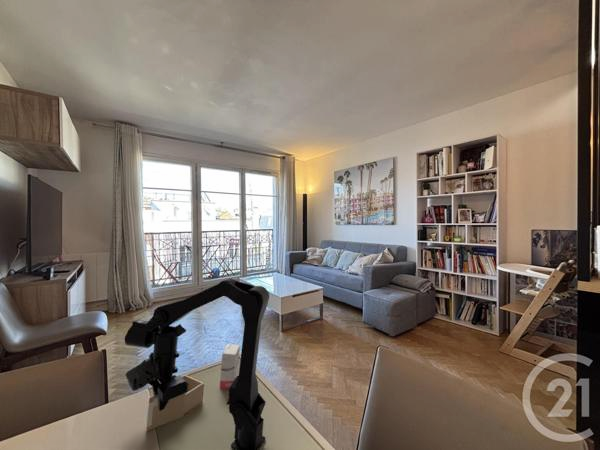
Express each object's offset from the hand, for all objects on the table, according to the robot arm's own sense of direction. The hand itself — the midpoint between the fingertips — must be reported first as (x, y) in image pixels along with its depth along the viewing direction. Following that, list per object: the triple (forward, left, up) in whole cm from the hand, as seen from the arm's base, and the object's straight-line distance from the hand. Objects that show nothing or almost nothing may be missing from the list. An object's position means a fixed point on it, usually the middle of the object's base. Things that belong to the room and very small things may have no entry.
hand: (159, 407), depth 68 cm
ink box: (-1, -26, -6) cm, 27 cm away
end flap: (0, -2, -5) cm, 5 cm away
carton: (+2, -10, -5) cm, 11 cm away
